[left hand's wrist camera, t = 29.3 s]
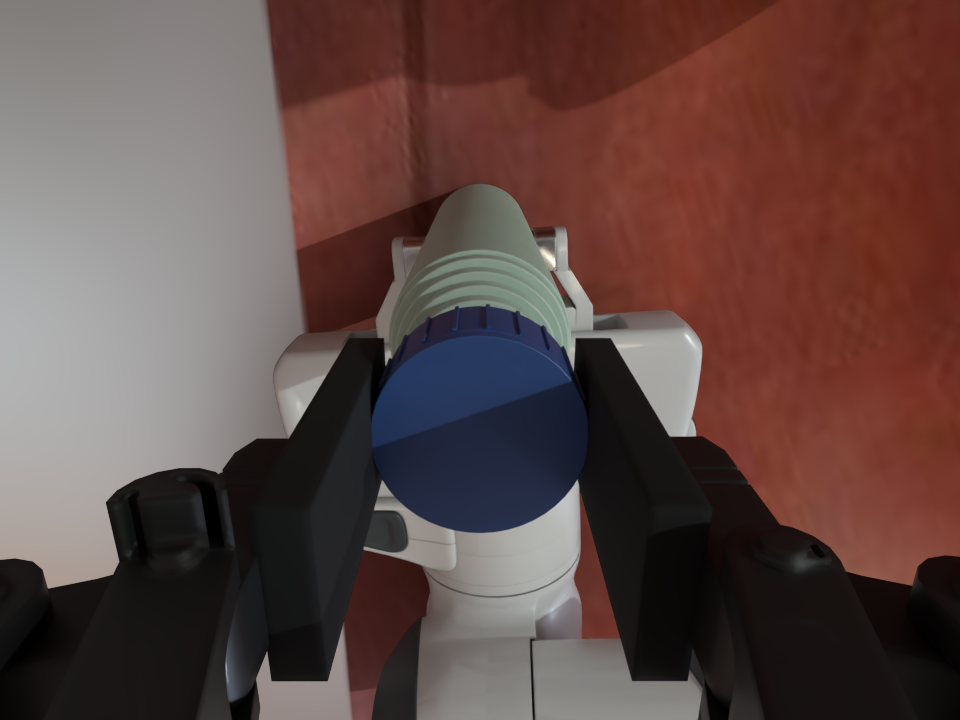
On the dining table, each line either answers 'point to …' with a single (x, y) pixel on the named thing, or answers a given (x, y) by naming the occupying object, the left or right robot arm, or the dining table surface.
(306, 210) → the dining table surface
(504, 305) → the bottle
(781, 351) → the dining table surface
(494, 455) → the cap
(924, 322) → the dining table surface
